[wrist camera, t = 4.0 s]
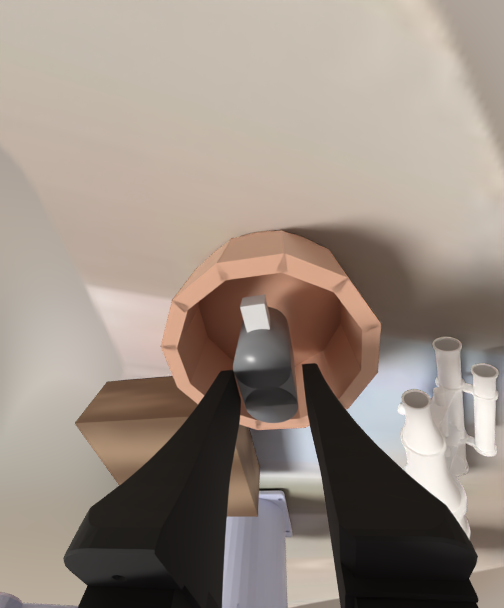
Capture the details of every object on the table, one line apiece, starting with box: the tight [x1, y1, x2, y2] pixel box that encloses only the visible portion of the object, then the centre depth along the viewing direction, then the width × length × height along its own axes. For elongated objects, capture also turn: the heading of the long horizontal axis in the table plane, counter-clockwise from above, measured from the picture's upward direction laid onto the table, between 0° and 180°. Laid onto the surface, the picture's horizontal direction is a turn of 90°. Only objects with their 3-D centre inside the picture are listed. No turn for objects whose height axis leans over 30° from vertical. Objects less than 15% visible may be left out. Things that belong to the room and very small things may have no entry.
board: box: [75, 376, 260, 517], centre depth 22 cm, size 13×11×4 cm
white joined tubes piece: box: [398, 337, 499, 540], centre depth 18 cm, size 8×14×5 cm
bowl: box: [161, 230, 381, 430], centre depth 15 cm, size 11×11×5 cm
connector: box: [233, 294, 298, 423], centre depth 13 cm, size 6×3×3 cm, turn 12°
